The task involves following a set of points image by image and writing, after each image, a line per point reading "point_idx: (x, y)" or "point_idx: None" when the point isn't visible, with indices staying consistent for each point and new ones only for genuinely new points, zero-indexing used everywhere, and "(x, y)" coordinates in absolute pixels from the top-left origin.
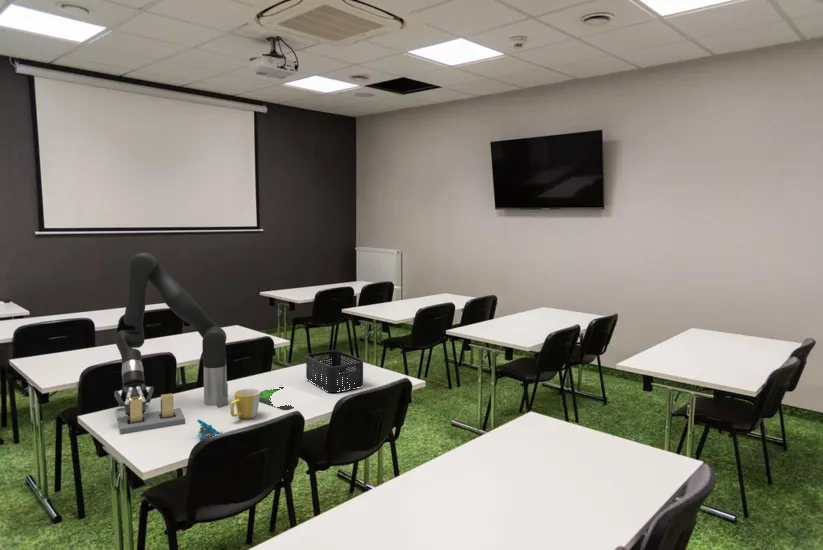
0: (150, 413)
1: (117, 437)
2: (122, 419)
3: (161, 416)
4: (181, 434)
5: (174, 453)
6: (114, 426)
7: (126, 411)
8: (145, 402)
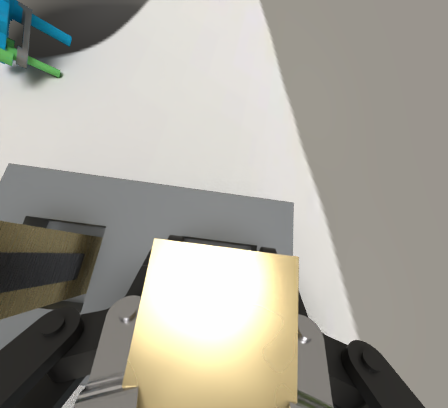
0: None
1: None
2: None
3: (80, 285)
4: (95, 113)
5: (168, 16)
6: None
7: None
8: (120, 303)
